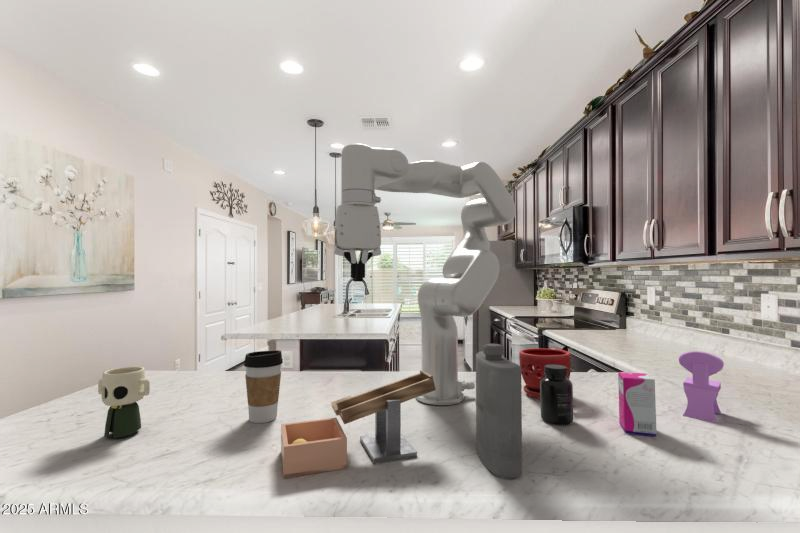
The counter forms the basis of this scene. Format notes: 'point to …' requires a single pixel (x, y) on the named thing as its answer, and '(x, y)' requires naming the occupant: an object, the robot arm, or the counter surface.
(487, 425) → the flask
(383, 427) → the pivot stand
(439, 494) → the counter surface
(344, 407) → the lever
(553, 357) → the plant pot
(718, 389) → the toy chair
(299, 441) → the ball
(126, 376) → the character mug
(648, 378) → the supplement box
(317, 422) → the pink open box
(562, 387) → the supplement bottle
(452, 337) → the robot arm
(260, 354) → the coffee cup
